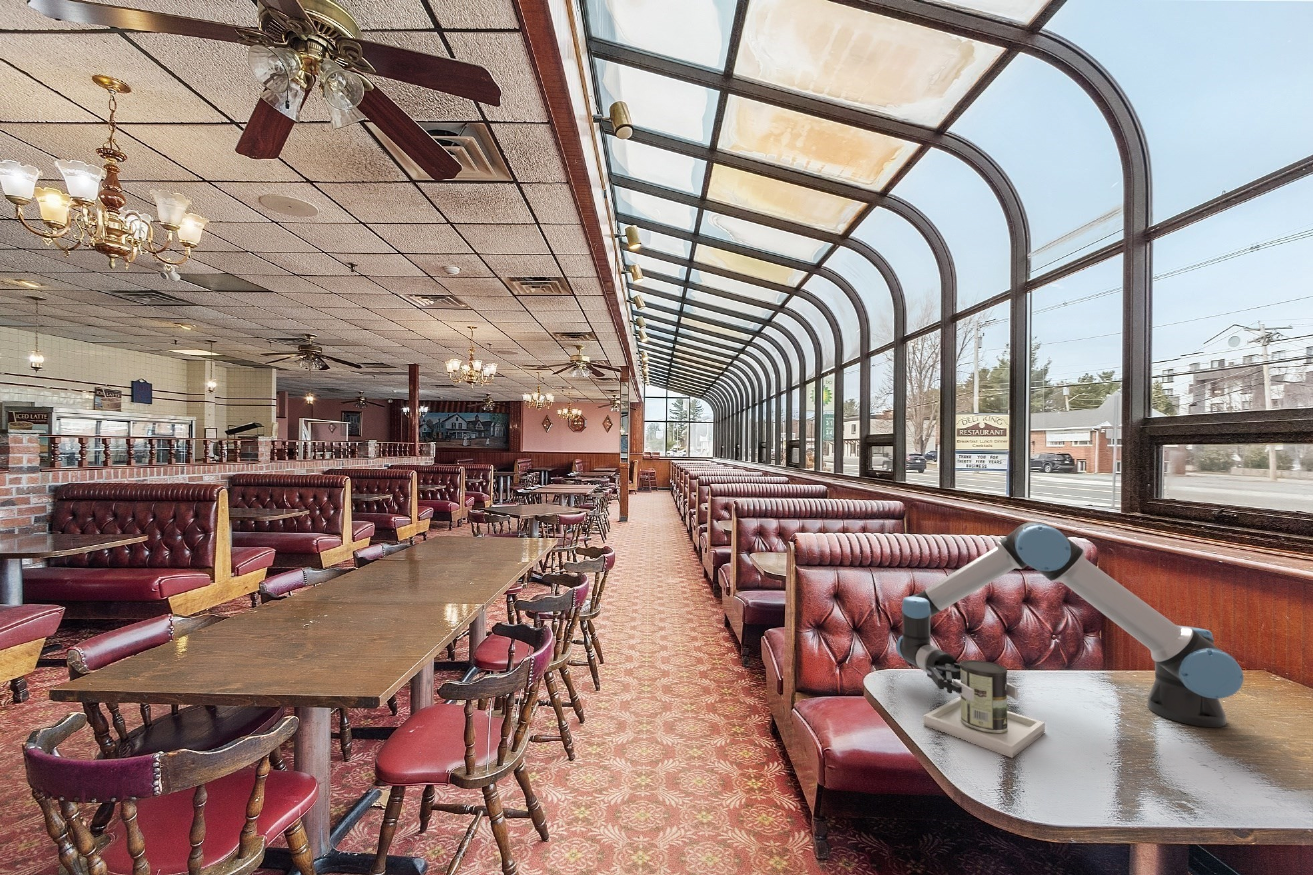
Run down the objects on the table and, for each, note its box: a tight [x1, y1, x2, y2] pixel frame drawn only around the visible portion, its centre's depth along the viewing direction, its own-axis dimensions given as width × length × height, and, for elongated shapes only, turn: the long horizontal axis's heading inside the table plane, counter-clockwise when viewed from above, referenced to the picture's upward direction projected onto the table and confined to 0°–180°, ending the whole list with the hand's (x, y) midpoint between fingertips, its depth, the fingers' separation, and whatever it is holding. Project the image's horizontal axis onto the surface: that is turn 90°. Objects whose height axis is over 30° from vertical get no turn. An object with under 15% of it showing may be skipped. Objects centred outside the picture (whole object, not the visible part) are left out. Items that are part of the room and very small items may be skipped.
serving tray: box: [923, 695, 1046, 759], centre depth 141 cm, size 20×20×2 cm
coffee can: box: [959, 659, 1008, 733], centre depth 142 cm, size 10×10×14 cm
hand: (994, 694), depth 138 cm, fingers open, 11 cm apart
